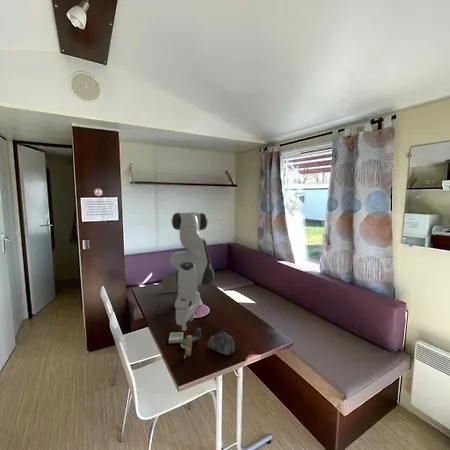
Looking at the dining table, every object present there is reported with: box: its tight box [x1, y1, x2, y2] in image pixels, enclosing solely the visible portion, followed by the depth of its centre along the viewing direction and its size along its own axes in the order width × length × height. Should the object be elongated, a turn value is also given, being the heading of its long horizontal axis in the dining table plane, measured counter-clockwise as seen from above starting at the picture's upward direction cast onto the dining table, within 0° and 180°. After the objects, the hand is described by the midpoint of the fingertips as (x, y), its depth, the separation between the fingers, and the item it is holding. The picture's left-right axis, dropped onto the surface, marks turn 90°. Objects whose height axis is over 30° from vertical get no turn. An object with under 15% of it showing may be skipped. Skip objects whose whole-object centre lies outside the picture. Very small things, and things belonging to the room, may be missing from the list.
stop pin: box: [184, 335, 193, 357], centre depth 124 cm, size 3×3×9 cm
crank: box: [182, 327, 202, 346], centre depth 134 cm, size 10×4×6 cm, turn 124°
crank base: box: [180, 342, 187, 359], centre depth 129 cm, size 14×6×1 cm, turn 4°
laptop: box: [161, 275, 179, 294], centre depth 212 cm, size 18×12×13 cm
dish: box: [168, 331, 184, 344], centre depth 138 cm, size 7×7×2 cm
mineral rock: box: [206, 331, 236, 356], centre depth 129 cm, size 13×11×10 cm
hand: (187, 325), depth 123 cm, fingers open, 8 cm apart
